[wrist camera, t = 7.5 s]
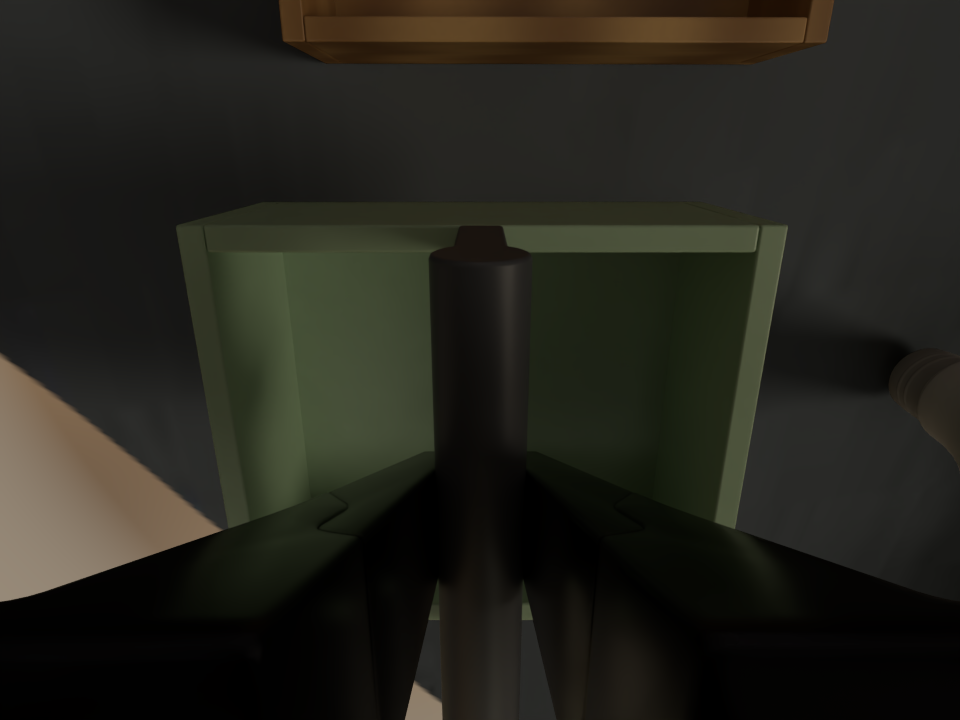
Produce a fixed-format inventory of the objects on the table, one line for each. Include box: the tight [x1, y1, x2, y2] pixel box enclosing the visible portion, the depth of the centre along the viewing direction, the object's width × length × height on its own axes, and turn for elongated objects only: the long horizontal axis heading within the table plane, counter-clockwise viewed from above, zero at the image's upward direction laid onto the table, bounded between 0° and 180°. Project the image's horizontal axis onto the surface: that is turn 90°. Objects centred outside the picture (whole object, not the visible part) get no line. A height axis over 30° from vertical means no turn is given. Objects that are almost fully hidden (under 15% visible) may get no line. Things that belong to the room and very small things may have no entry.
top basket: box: [176, 202, 788, 720], centre depth 13 cm, size 11×9×8 cm
